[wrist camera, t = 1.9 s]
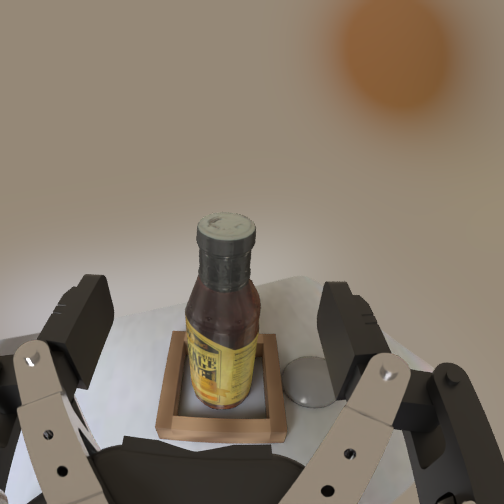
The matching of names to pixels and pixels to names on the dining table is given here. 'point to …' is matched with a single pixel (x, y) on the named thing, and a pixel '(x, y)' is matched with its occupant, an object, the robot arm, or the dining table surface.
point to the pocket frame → (217, 428)
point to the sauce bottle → (223, 312)
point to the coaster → (308, 382)
